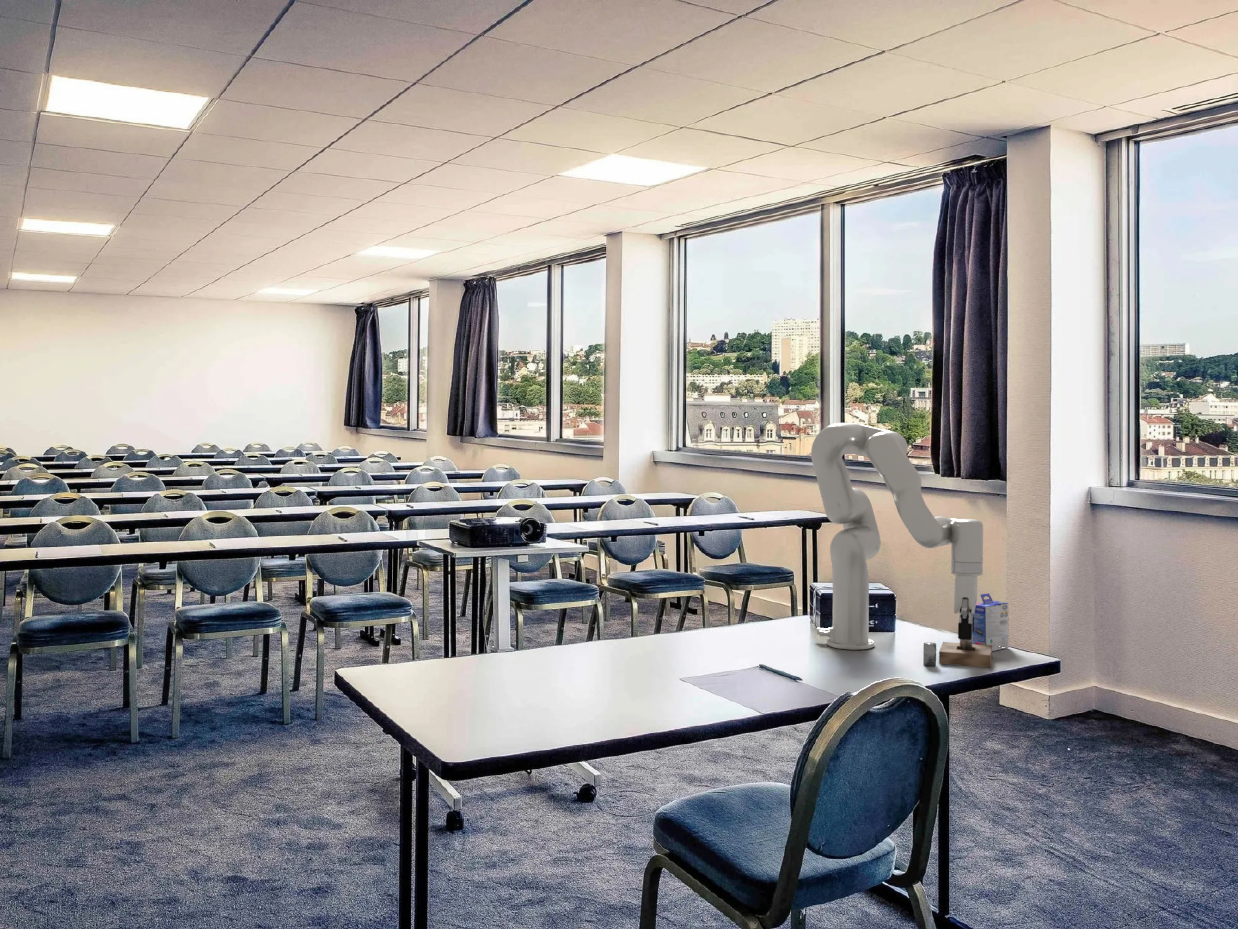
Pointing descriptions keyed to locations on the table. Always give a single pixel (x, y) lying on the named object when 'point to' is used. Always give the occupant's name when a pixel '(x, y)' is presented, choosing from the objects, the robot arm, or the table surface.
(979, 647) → the socket block
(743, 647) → the table surface
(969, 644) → the long pin
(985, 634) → the ink cartridge box
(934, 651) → the short pin
